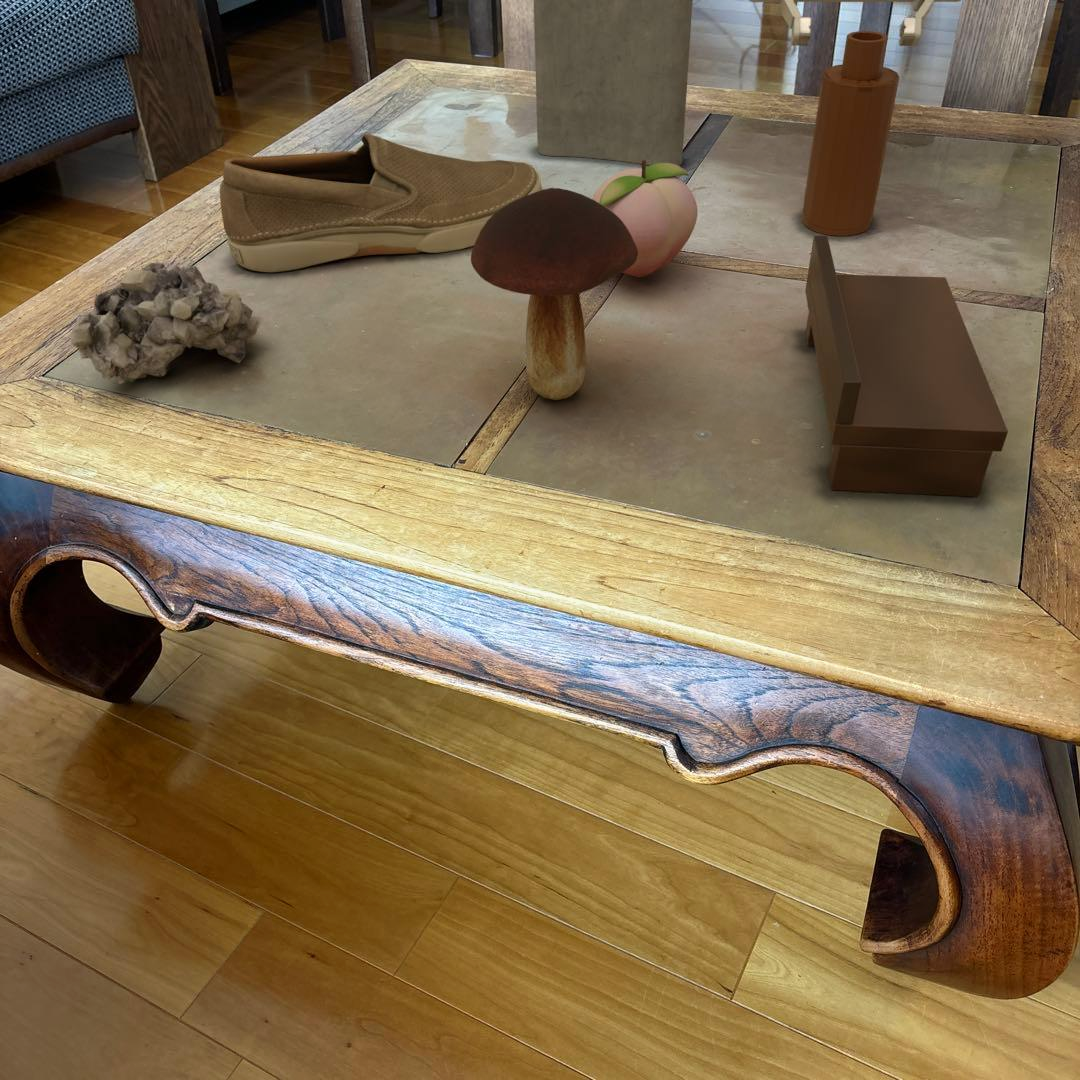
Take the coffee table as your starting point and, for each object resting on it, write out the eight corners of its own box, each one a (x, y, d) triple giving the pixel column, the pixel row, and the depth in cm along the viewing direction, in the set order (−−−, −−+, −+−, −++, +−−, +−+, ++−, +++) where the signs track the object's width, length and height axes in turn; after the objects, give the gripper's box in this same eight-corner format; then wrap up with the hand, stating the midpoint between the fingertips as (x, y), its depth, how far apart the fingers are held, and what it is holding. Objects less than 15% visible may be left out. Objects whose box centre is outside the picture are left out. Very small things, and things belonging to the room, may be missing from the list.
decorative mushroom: (531, 455, 68) (523, 242, 59) (453, 382, 76) (435, 182, 66) (662, 404, 73) (675, 198, 63) (577, 340, 80) (576, 146, 70)
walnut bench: (930, 336, 79) (955, 238, 74) (986, 497, 64) (1022, 388, 59) (798, 332, 80) (813, 235, 75) (822, 489, 65) (844, 381, 60)
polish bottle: (865, 209, 97) (900, 26, 87) (874, 236, 92) (911, 47, 82) (799, 207, 98) (825, 25, 87) (804, 235, 93) (832, 46, 83)
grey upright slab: (533, 154, 110) (527, -58, 97) (546, 141, 113) (541, -66, 100) (677, 169, 106) (691, -50, 93) (687, 155, 109) (701, -59, 96)
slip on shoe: (528, 190, 102) (524, 97, 97) (561, 235, 94) (559, 137, 88) (228, 233, 97) (205, 137, 91) (235, 285, 88) (211, 183, 83)
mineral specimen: (59, 373, 71) (97, 232, 69) (74, 353, 79) (108, 227, 77) (235, 426, 75) (276, 296, 73) (232, 402, 84) (268, 284, 82)
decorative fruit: (634, 244, 93) (638, 131, 86) (708, 270, 88) (717, 154, 82) (564, 280, 88) (562, 163, 81) (638, 310, 83) (642, 189, 77)
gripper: (746, -131, 89) (739, 21, 88) (989, -134, 87) (984, 22, 86) (740, -82, 96) (732, 61, 95) (966, -84, 93) (961, 62, 93)
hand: (854, 42), depth 90 cm, fingers open, 8 cm apart
